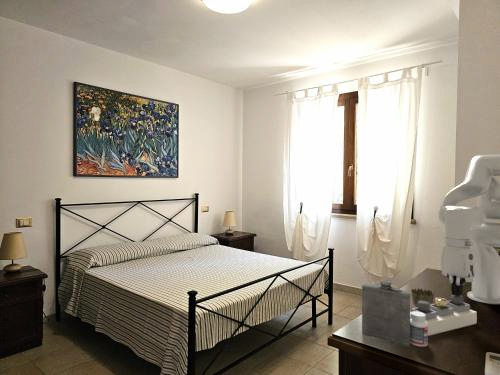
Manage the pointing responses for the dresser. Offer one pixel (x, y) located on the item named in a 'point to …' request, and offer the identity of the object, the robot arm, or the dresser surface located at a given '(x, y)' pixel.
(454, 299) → the button
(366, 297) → the flask
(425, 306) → the button
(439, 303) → the brass knob
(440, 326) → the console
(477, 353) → the dresser surface
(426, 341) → the pill bottle
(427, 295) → the olive hollow bell-shaped piece
